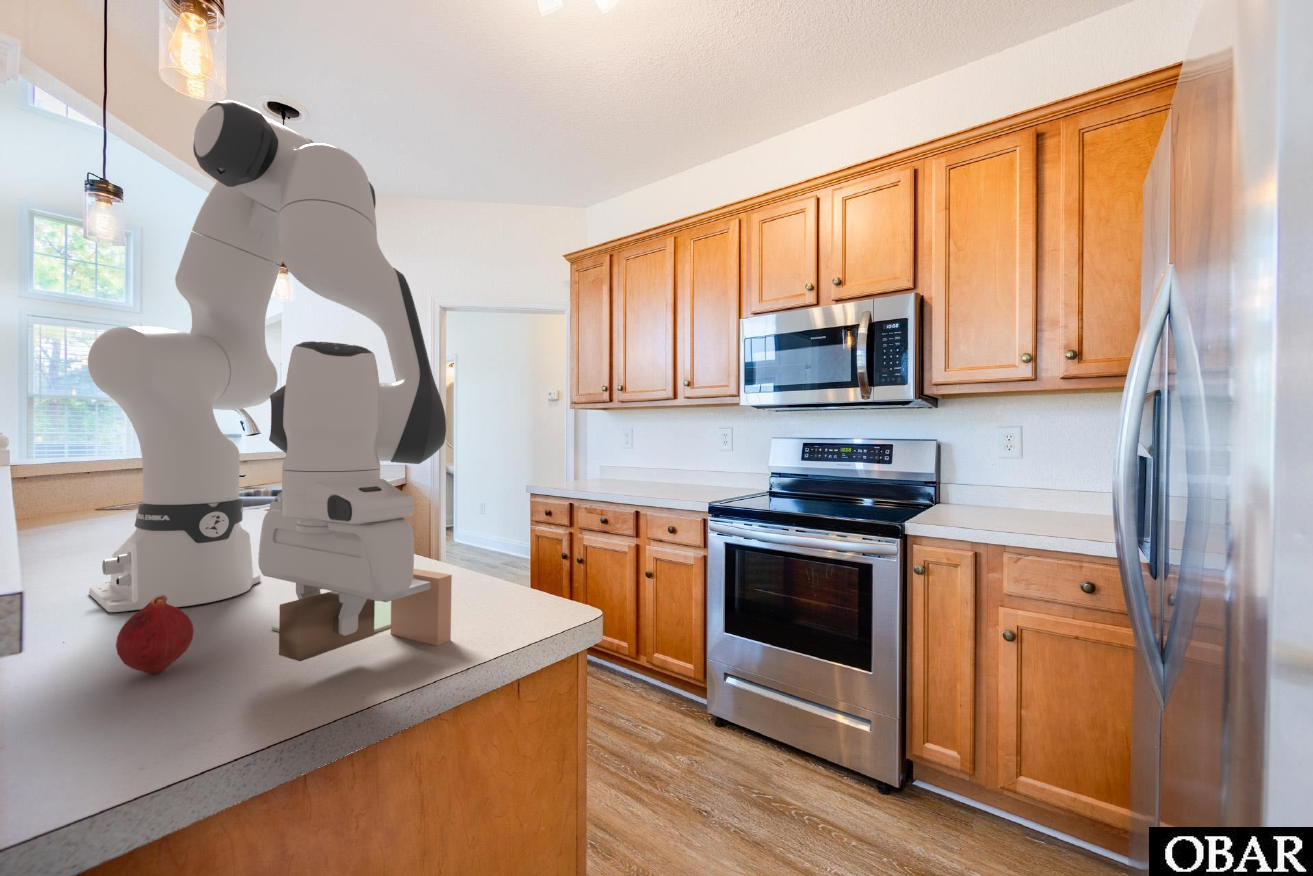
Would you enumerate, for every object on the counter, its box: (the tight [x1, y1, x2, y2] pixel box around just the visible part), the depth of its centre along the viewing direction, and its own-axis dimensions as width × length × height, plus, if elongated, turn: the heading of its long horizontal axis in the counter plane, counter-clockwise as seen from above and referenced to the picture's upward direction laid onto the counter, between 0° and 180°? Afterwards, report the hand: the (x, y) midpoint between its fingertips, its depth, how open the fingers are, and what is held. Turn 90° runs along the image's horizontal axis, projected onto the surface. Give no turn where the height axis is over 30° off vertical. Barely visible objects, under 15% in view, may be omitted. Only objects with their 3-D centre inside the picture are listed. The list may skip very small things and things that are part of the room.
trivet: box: [271, 601, 391, 634], centre depth 74 cm, size 12×14×1 cm
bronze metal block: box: [278, 579, 431, 662], centre depth 61 cm, size 7×14×5 cm, turn 154°
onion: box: [115, 595, 195, 675], centre depth 57 cm, size 6×6×8 cm
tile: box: [390, 568, 453, 646], centre depth 68 cm, size 8×2×8 cm, turn 65°
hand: (330, 628), depth 58 cm, fingers closed on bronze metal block, 3 cm apart
